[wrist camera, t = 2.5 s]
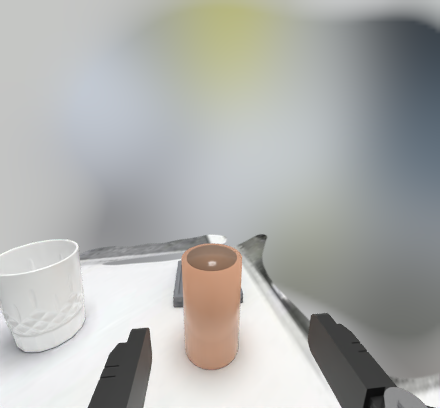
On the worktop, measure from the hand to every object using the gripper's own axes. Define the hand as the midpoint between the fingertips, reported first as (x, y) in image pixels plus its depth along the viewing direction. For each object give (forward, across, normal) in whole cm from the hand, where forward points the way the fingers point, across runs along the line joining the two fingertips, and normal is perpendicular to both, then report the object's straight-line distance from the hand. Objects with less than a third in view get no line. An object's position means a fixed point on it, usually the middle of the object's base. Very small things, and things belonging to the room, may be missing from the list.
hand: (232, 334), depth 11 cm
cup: (+12, 0, +13) cm, 17 cm away
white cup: (+15, +19, +13) cm, 28 cm away
